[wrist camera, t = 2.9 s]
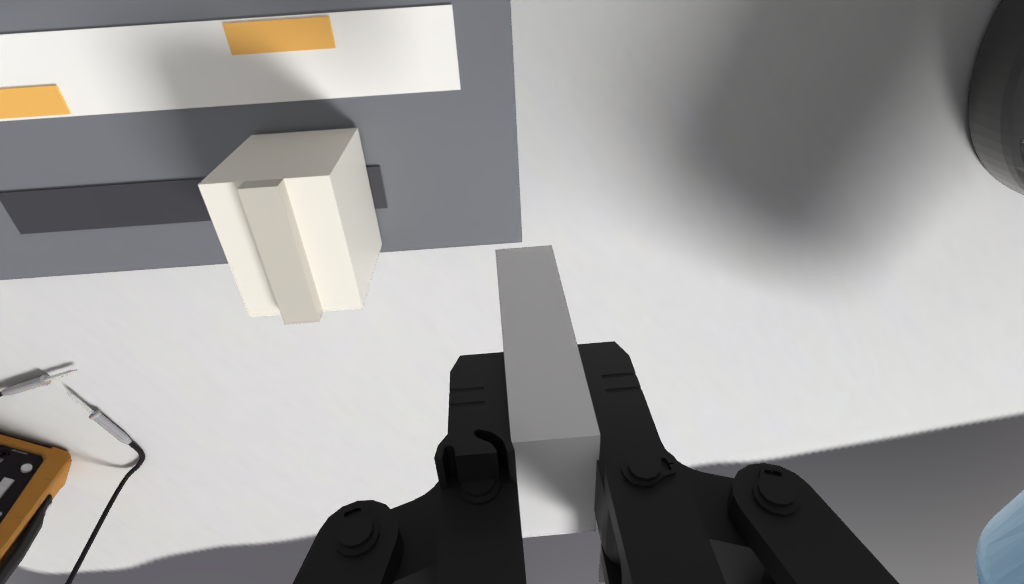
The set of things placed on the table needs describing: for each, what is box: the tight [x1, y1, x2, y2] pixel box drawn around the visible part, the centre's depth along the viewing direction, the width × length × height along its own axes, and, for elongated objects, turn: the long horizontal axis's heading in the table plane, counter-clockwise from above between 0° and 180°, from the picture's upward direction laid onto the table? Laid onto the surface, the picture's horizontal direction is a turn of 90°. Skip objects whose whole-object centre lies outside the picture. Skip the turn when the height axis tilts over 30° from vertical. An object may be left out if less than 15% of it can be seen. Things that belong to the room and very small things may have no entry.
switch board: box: [0, 0, 522, 280], centre depth 21 cm, size 26×16×3 cm, turn 93°
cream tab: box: [198, 128, 382, 324], centre depth 20 cm, size 4×5×5 cm
